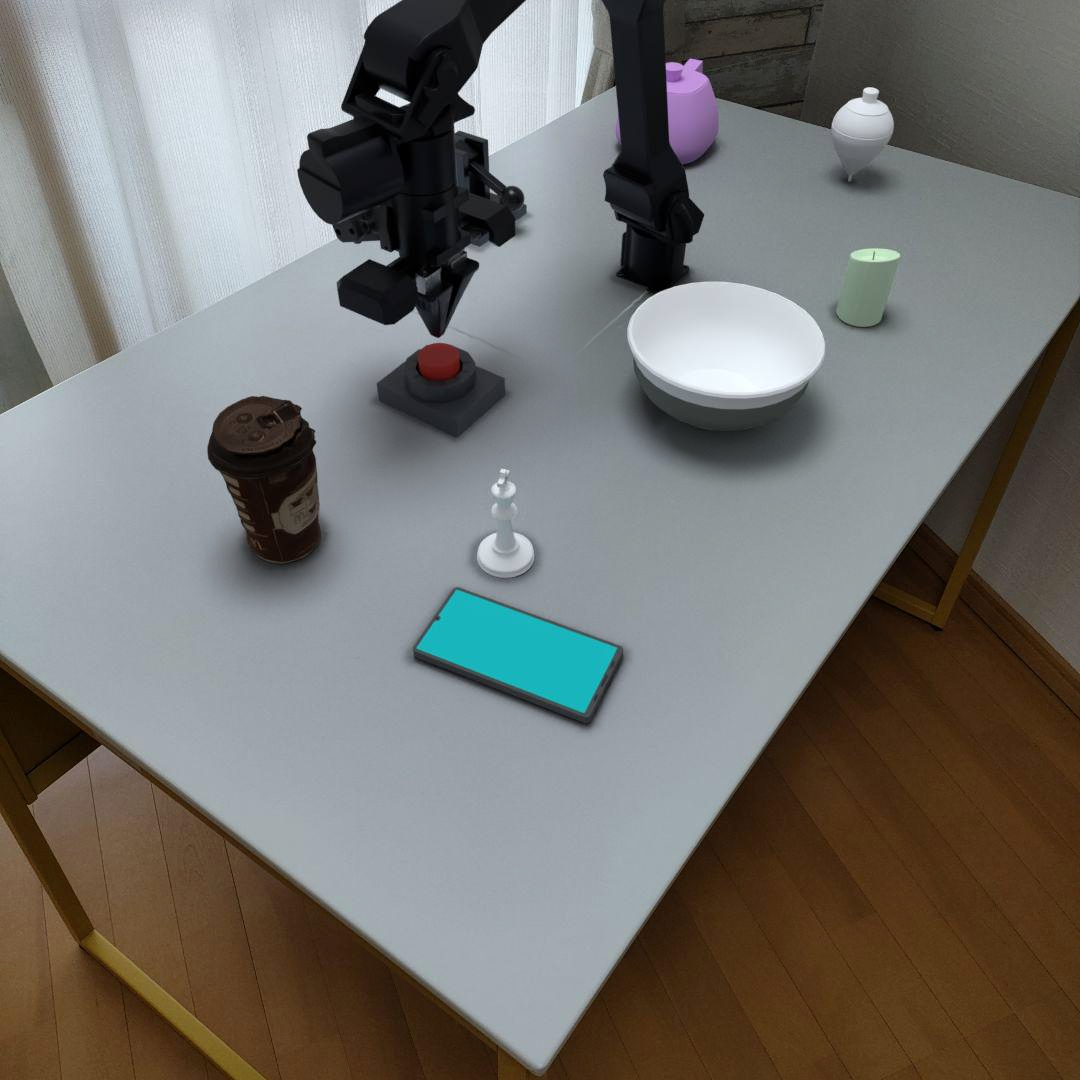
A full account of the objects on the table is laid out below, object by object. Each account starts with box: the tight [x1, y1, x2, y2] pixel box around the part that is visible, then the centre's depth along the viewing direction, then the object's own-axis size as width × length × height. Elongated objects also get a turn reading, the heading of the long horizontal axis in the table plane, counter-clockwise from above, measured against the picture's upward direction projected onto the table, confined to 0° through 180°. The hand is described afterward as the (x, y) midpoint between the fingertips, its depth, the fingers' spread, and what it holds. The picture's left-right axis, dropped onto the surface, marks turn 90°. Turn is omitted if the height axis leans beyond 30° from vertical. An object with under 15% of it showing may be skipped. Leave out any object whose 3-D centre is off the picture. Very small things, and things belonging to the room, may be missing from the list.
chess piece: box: [476, 468, 535, 579], centre depth 82 cm, size 5×5×10 cm
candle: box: [835, 247, 901, 328], centre depth 108 cm, size 5×5×8 cm
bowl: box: [626, 281, 827, 432], centre depth 97 cm, size 19×19×8 cm
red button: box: [418, 342, 460, 380], centre depth 97 cm, size 4×4×2 cm
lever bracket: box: [455, 130, 528, 248], centre depth 122 cm, size 12×10×10 cm
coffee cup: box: [206, 395, 322, 564], centre depth 82 cm, size 9×8×13 cm
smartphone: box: [412, 587, 624, 724], centre depth 78 cm, size 7×1×15 cm
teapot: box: [614, 58, 719, 165], centre depth 135 cm, size 13×20×11 cm
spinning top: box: [830, 86, 895, 182], centre depth 128 cm, size 8×8×12 cm
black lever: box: [455, 139, 525, 212], centre depth 119 cm, size 11×3×3 cm, turn 56°
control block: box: [376, 344, 506, 438], centre depth 99 cm, size 10×8×4 cm
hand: (437, 335), depth 95 cm, fingers closed
